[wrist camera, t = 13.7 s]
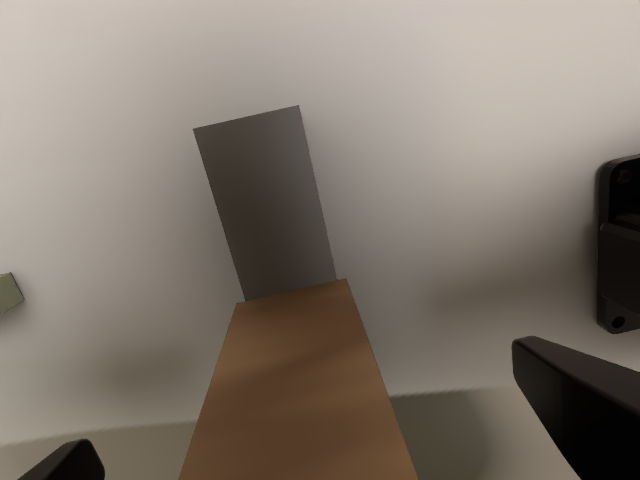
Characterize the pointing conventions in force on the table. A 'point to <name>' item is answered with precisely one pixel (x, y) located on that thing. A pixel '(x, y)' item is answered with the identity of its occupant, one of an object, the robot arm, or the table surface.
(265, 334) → the hoe
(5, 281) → the bin
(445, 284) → the table surface
